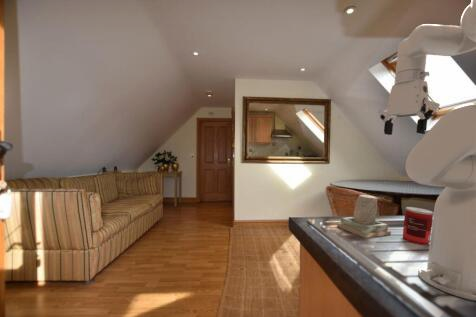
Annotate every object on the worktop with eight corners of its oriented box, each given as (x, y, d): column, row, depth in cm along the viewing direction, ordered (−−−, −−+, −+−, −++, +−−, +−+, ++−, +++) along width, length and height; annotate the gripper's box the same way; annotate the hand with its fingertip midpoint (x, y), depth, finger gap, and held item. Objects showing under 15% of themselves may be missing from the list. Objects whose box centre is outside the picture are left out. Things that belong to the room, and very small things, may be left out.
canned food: (419, 237, 87) (423, 208, 86) (435, 246, 79) (439, 213, 78) (397, 235, 87) (400, 205, 87) (410, 243, 80) (414, 211, 79)
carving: (377, 231, 86) (380, 198, 85) (354, 228, 88) (357, 195, 87) (372, 226, 92) (376, 195, 91) (351, 223, 94) (354, 193, 93)
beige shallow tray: (365, 237, 81) (366, 227, 81) (337, 226, 92) (338, 217, 92) (390, 234, 88) (391, 225, 87) (361, 224, 98) (362, 215, 98)
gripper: (448, 75, 69) (442, 134, 69) (388, 87, 84) (383, 135, 85) (435, 69, 65) (428, 131, 66) (375, 83, 81) (370, 133, 81)
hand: (403, 133), depth 75 cm, fingers open, 9 cm apart
